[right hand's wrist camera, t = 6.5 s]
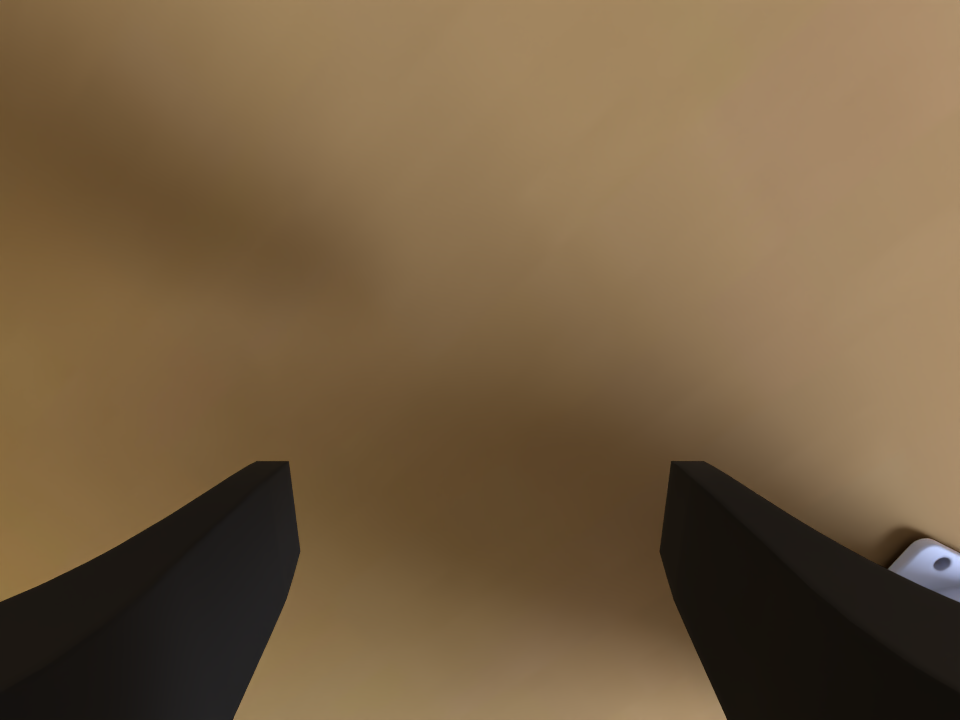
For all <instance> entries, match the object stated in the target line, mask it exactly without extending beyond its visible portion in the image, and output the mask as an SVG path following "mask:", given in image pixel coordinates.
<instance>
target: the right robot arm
mask: <svg viewBox="0 0 960 720" xmlns="http://www.w3.org/2000/svg"><path fill="white" fill-rule="evenodd" d="M299 554H300V545H299V537H298V529H297V522H296V514H295V506H294V498H293V490H292V482H291V475H290V467H289V461H256V462H254V463H252V464H250V465H248V466H247V467H245V468H243V469H242V470H240V471H238V472H237V473H235V474H233V475H232V476H230V477H229V478H227V479H226V480H224V481H222V482H221V483H219V484H218V485H216V486H215V487H213V488H212V489H210V490H208V491H207V492H205V493H204V494H202V495H201V496H199V497H198V498H196V499H194V500H193V501H191V502H190V503H188V504H187V505H185V506H183V507H182V508H180V509H179V510H177V511H176V512H174V513H173V514H171V515H169V516H168V517H166V518H164V519H163V520H161V521H159V522H157V523H156V524H154V525H152V526H151V527H149V528H147V529H146V530H144V531H142V532H140V533H139V534H137V535H135V536H134V537H132V538H130V539H129V540H127V541H125V542H123V543H122V544H120V545H118V546H117V547H115V548H113V549H111V550H109V551H107V552H106V553H104V554H102V555H100V556H98V557H96V558H94V559H92V560H90V561H89V562H87V563H85V564H83V565H81V566H79V567H76V568H74V569H72V570H70V571H68V572H66V573H64V574H62V575H60V576H58V577H56V578H54V579H52V580H50V581H48V582H46V583H43V584H41V585H39V586H37V587H35V588H32V589H30V590H28V591H25V592H23V593H21V594H18V595H16V596H13V597H11V598H9V599H6V600H4V601H2V602H0V720H233V718H234V716H235V713H236V711H237V709H238V707H239V705H240V702H241V700H242V698H243V696H244V694H245V691H246V689H247V687H248V685H249V682H250V680H251V678H252V676H253V674H254V671H255V669H256V667H257V665H258V662H259V660H260V658H261V656H262V654H263V651H264V649H265V647H266V645H267V642H268V640H269V638H270V636H271V633H272V631H273V629H274V627H275V624H276V622H277V620H278V618H279V615H280V613H281V611H282V608H283V606H284V604H285V601H286V599H287V595H288V592H289V589H290V586H291V583H292V579H293V576H294V572H295V569H296V565H297V562H298V558H299ZM660 554H661V558H662V562H663V565H664V569H665V572H666V576H667V579H668V583H669V586H670V589H671V592H672V595H673V599H674V601H675V604H676V606H677V608H678V611H679V613H680V615H681V618H682V620H683V622H684V624H685V627H686V629H687V631H688V633H689V636H690V638H691V640H692V642H693V645H694V647H695V649H696V651H697V654H698V656H699V658H700V660H701V662H702V665H703V667H704V669H705V671H706V674H707V676H708V678H709V680H710V682H711V685H712V687H713V689H714V691H715V694H716V696H717V698H718V700H719V702H720V705H721V707H722V709H723V711H724V713H725V716H726V718H727V720H960V553H959V552H957V551H955V550H953V549H951V548H949V547H947V546H945V545H943V544H941V543H939V542H937V541H935V540H933V539H929V538H924V539H919V540H917V541H915V542H913V543H912V544H911V545H910V546H909V547H908V548H907V549H906V550H905V551H904V552H903V553H902V554H901V555H900V556H899V557H898V559H897V560H896V561H895V562H894V563H893V564H892V565H891V566H890V567H889V568H888V569H886V568H884V567H882V566H880V565H878V564H876V563H874V562H872V561H870V560H868V559H866V558H864V557H862V556H861V555H859V554H857V553H855V552H853V551H851V550H849V549H848V548H846V547H844V546H842V545H841V544H839V543H837V542H835V541H833V540H832V539H830V538H828V537H826V536H825V535H823V534H821V533H819V532H818V531H816V530H814V529H813V528H811V527H809V526H808V525H806V524H804V523H803V522H801V521H799V520H798V519H796V518H794V517H793V516H791V515H790V514H788V513H786V512H785V511H783V510H782V509H780V508H778V507H777V506H775V505H774V504H772V503H771V502H769V501H767V500H766V499H764V498H763V497H761V496H760V495H758V494H757V493H755V492H753V491H752V490H750V489H749V488H747V487H746V486H744V485H743V484H741V483H740V482H738V481H736V480H735V479H733V478H732V477H730V476H729V475H727V474H725V473H724V472H722V471H720V470H719V469H717V468H715V467H714V466H712V465H710V464H708V463H706V462H704V461H671V467H670V475H669V482H668V490H667V498H666V506H665V514H664V522H663V529H662V537H661V545H660ZM939 558H940V559H939ZM938 559H939V560H938ZM936 560H937V561H936ZM935 561H936V562H935Z"/></svg>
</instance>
